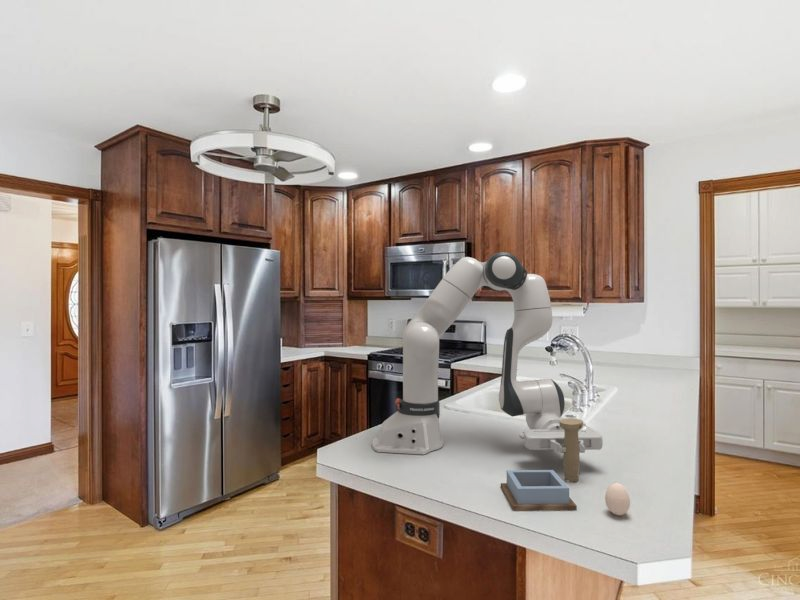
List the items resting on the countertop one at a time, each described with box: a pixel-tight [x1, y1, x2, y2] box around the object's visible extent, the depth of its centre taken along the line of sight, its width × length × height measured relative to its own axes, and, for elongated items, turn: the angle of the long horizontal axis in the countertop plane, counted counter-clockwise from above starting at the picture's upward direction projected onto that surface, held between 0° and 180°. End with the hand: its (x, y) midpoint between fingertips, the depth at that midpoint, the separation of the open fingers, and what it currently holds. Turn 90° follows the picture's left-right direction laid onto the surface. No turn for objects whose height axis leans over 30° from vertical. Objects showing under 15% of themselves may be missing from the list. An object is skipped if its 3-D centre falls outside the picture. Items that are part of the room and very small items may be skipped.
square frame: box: [506, 469, 570, 504], centre depth 105 cm, size 11×10×4 cm
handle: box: [560, 417, 584, 483], centre depth 115 cm, size 5×6×15 cm
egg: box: [604, 482, 631, 516], centre depth 97 cm, size 5×5×7 cm
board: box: [500, 482, 578, 512], centre depth 105 cm, size 14×12×1 cm
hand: (572, 449), depth 114 cm, fingers closed on handle, 3 cm apart
